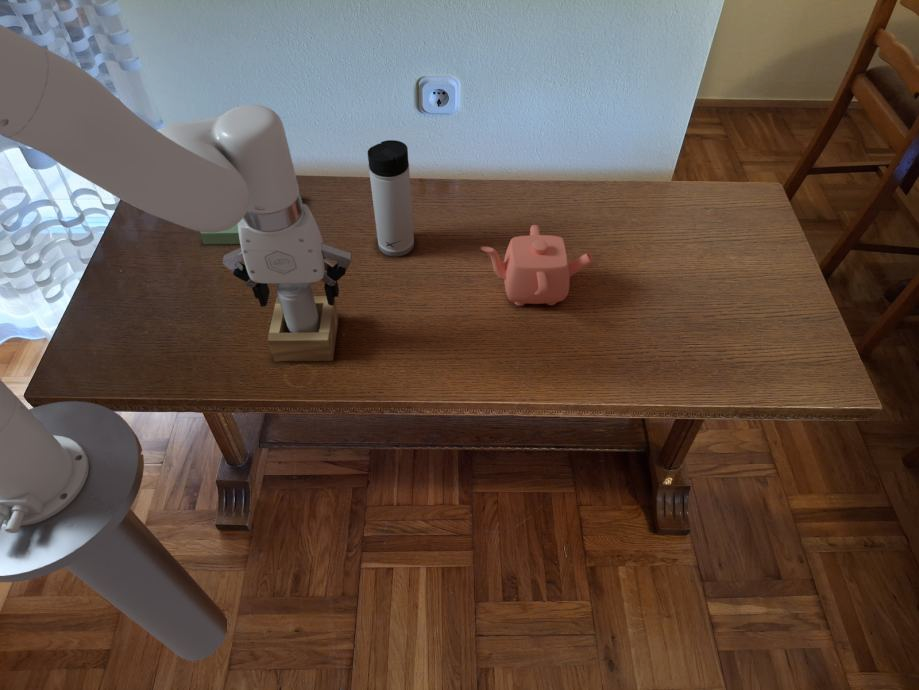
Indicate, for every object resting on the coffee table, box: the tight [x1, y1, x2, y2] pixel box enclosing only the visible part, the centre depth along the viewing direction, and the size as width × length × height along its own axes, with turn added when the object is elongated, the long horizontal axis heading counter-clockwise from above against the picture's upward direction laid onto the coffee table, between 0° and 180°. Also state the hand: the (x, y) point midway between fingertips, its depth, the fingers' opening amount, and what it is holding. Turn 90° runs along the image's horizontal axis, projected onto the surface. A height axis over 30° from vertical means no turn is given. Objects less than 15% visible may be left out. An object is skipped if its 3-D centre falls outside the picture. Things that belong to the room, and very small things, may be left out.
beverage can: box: [276, 282, 320, 333], centre depth 97 cm, size 5×5×12 cm
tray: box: [199, 224, 240, 245], centre depth 118 cm, size 13×14×3 cm
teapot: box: [480, 224, 595, 306], centre depth 104 cm, size 14×12×10 cm
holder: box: [267, 295, 339, 362], centre depth 99 cm, size 9×9×5 cm
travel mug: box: [367, 139, 415, 257], centre depth 107 cm, size 6×7×20 cm
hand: (299, 298), depth 95 cm, fingers open, 9 cm apart
